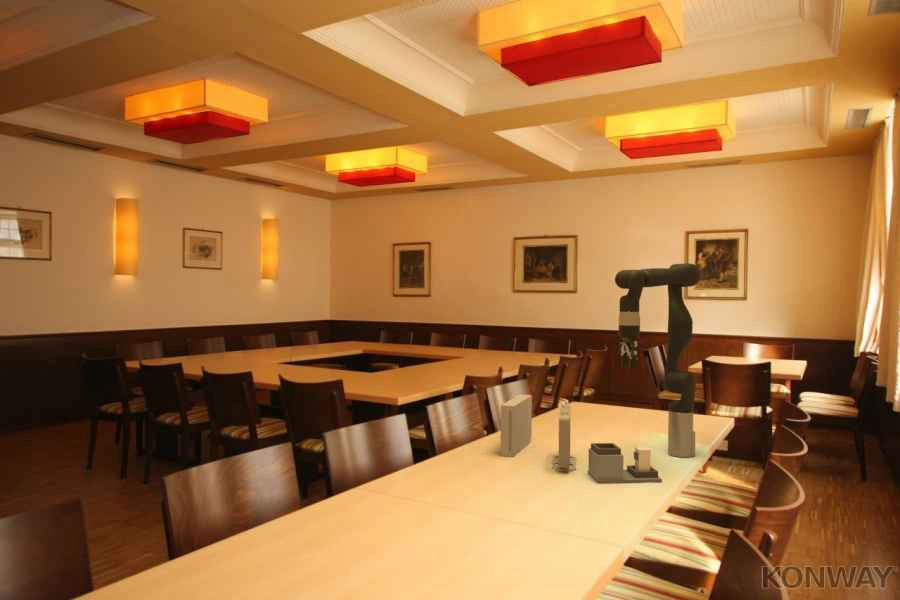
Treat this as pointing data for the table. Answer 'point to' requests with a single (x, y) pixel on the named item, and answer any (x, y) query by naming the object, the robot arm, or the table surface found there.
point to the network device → (564, 441)
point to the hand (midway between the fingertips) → (628, 368)
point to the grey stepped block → (615, 466)
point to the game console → (516, 424)
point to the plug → (642, 458)
